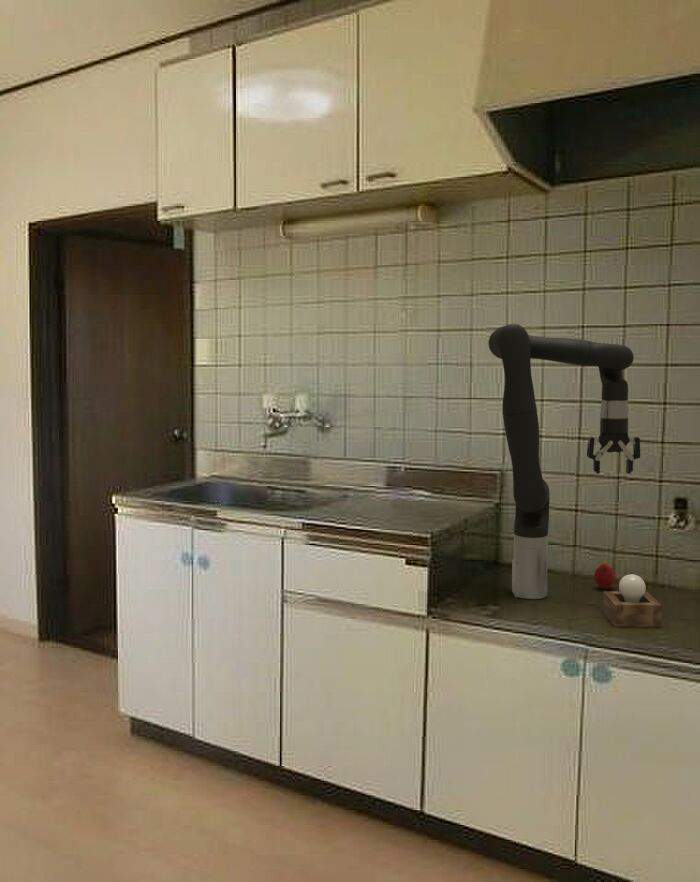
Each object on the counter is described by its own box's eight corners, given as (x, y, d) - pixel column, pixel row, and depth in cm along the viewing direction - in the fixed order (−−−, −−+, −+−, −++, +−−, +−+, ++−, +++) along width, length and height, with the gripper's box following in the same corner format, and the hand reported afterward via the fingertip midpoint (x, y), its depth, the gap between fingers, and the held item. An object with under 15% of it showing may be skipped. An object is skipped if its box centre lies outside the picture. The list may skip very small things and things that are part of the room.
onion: (611, 593, 220) (611, 565, 219) (590, 590, 224) (591, 562, 223) (618, 588, 225) (618, 561, 224) (598, 585, 228) (598, 558, 228)
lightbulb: (644, 622, 195) (646, 579, 193) (617, 619, 197) (618, 576, 196) (644, 614, 200) (645, 572, 199) (618, 612, 203) (619, 570, 201)
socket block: (614, 626, 193) (615, 604, 193) (602, 611, 204) (603, 591, 204) (661, 627, 193) (661, 605, 192) (646, 612, 204) (647, 591, 203)
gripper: (591, 417, 218) (590, 475, 219) (644, 417, 217) (642, 475, 218) (585, 415, 225) (584, 471, 227) (636, 415, 224) (634, 471, 226)
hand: (612, 473), depth 223 cm, fingers open, 8 cm apart
